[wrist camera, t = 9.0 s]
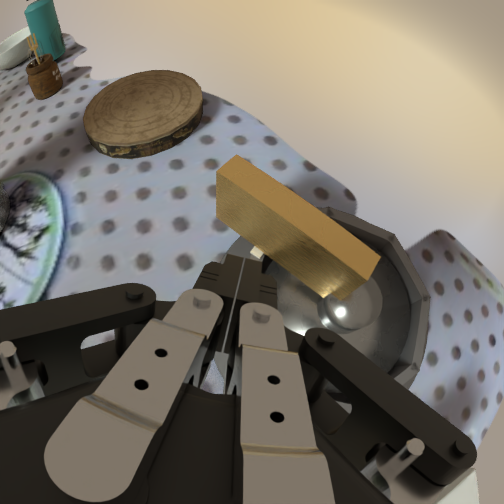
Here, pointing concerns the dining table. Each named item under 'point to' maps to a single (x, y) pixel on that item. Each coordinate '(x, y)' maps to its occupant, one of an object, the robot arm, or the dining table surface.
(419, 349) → the dial housing
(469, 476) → the small box
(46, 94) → the utensil holder
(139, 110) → the wooden log slice
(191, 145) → the dining table surface
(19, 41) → the cereal bowl
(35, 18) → the beverage bottle
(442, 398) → the dining table surface
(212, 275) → the robot arm
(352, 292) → the dial
